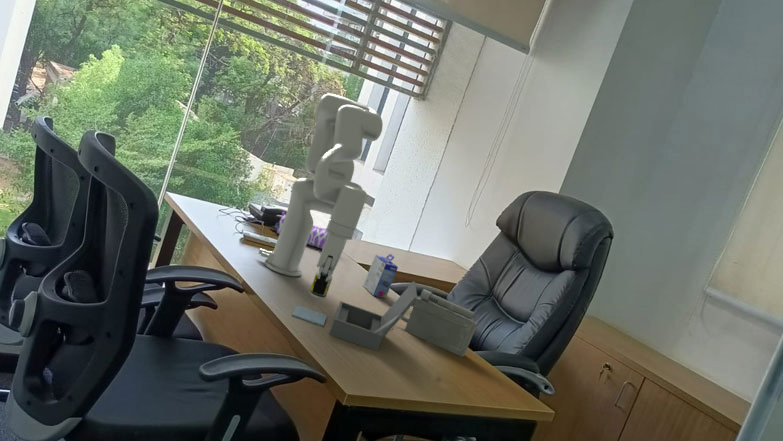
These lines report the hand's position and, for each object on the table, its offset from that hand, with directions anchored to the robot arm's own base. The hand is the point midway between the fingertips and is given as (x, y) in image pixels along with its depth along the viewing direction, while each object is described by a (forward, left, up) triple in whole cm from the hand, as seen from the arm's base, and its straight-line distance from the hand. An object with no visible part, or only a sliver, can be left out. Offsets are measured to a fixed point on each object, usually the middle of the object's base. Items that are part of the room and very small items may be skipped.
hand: (319, 290), depth 186 cm
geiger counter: (+35, +17, -8) cm, 40 cm away
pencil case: (-16, +85, -8) cm, 87 cm away
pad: (0, 0, -8) cm, 8 cm away
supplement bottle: (0, 0, -2) cm, 2 cm away
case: (+16, 0, -8) cm, 18 cm away
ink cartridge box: (+17, +49, -8) cm, 52 cm away
